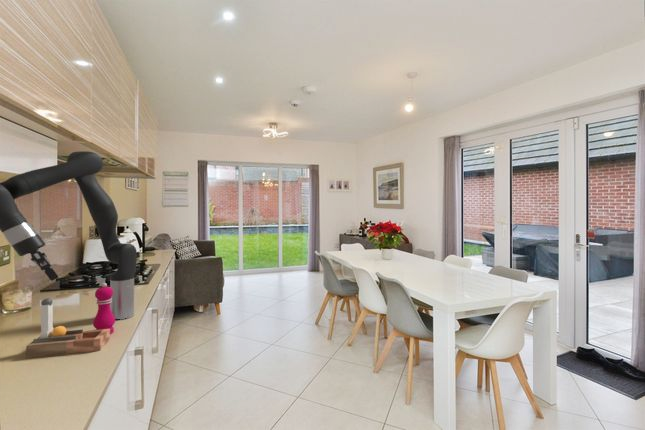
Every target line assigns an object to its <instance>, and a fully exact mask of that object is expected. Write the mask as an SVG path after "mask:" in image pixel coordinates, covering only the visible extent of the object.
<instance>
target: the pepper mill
mask: <svg viewBox="0 0 645 430" xmlns="http://www.w3.org/2000/svg"><path fill="white" fill-rule="evenodd" d="M112 295H113V289H112V288H110V286H108V284H107V283H106V282H103V283H101V287H98V288H97V289H96V290H95V292H94V296H95V298H96V305H97V313H96V315H95V317H94V318H93V321H92V326H93V327H94V329H95V330H100V329H110V335H112V334H113V333H114V332H115V328H114V325H115V323H116V320H115V317H114V315H113V313H112V312H111V309H110V304H111V302H112V298H111V297H112ZM111 333H112V334H111Z"/></svg>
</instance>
